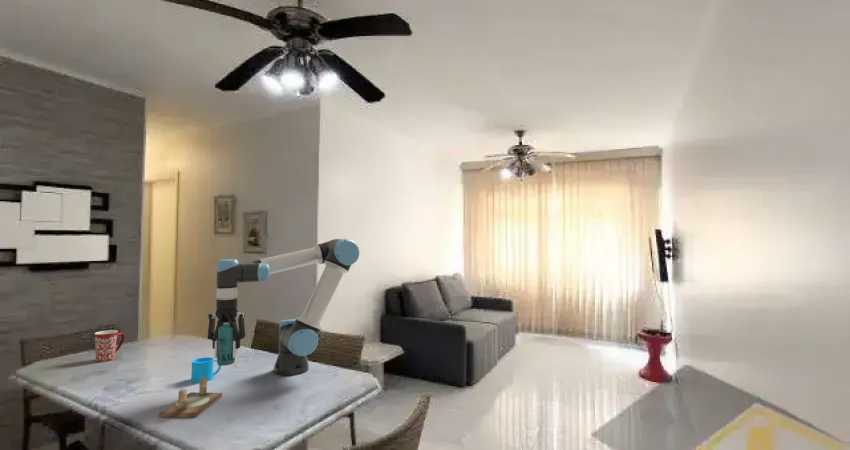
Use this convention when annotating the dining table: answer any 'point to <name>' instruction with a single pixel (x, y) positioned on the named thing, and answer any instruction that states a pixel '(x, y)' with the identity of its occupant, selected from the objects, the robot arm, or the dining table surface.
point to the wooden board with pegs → (191, 402)
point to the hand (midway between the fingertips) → (226, 356)
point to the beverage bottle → (225, 344)
